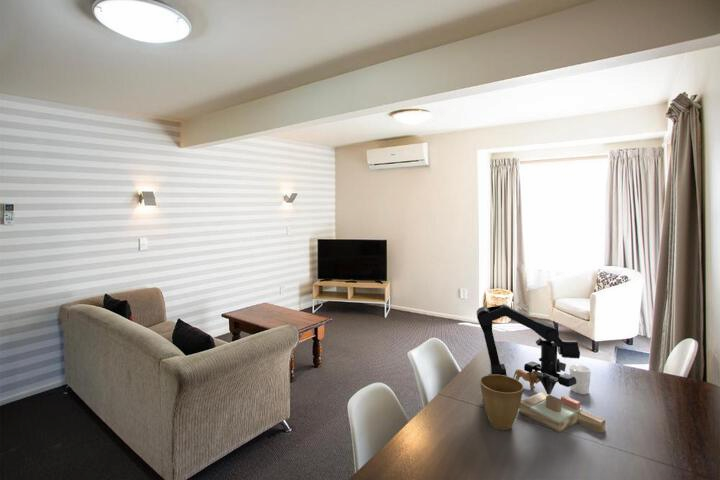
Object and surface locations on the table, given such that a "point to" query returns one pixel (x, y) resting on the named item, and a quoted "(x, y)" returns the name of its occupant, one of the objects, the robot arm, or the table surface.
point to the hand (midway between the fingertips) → (548, 394)
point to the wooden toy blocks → (580, 417)
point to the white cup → (580, 378)
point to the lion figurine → (527, 377)
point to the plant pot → (501, 399)
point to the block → (570, 402)
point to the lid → (554, 409)
